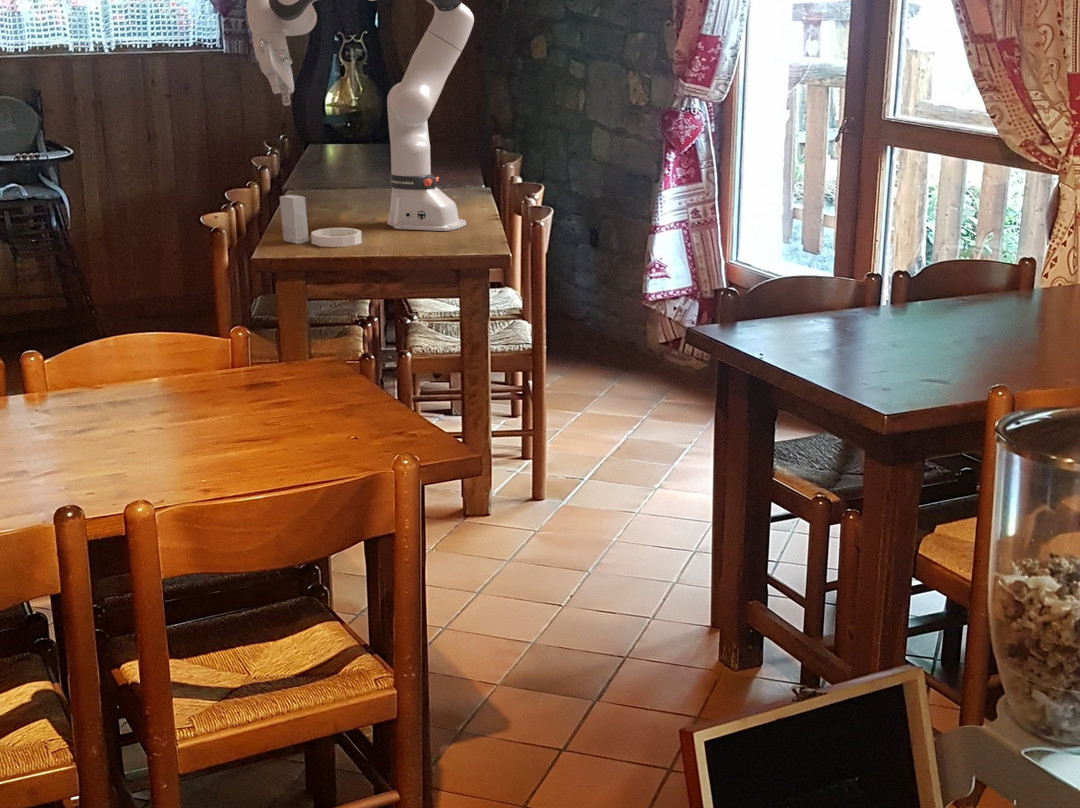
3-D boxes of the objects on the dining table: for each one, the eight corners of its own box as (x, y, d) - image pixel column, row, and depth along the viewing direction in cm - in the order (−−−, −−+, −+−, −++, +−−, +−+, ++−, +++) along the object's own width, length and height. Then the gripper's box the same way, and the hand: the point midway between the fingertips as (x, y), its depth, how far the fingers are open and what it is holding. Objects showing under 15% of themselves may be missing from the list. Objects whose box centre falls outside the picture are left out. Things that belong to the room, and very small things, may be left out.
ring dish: (370, 239, 331) (370, 230, 330) (345, 248, 319) (345, 238, 318) (328, 235, 335) (328, 226, 334) (302, 244, 324) (301, 234, 323)
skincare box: (309, 242, 327) (307, 196, 323) (295, 244, 324) (293, 198, 320) (295, 238, 331) (292, 193, 327) (281, 241, 328) (278, 195, 324)
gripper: (270, 31, 319) (281, 82, 318) (293, 60, 340) (303, 108, 338) (247, 38, 320) (258, 88, 318) (271, 66, 340) (281, 113, 339)
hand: (281, 98), depth 328 cm, fingers open, 8 cm apart
